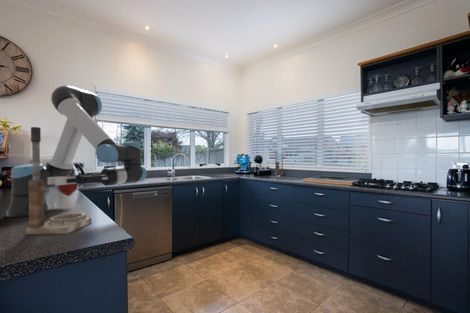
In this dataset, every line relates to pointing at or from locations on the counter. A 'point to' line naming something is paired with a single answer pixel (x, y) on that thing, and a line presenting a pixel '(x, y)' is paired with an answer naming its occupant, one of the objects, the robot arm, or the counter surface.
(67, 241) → the counter surface
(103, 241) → the counter surface
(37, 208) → the press
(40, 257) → the counter surface
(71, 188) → the onion
